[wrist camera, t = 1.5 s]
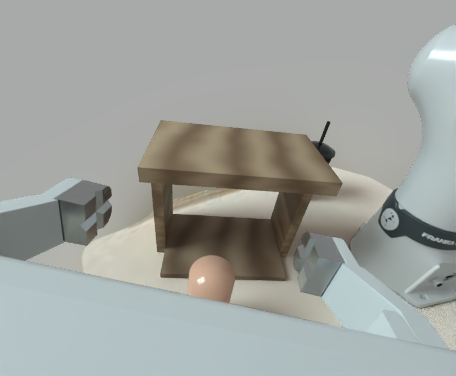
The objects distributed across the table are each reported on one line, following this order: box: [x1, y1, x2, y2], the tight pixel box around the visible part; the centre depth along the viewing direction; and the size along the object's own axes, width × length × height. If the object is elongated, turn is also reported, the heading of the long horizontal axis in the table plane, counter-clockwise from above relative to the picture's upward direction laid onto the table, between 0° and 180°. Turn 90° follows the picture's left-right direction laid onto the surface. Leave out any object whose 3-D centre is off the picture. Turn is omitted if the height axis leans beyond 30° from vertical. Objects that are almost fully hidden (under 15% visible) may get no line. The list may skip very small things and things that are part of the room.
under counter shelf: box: [138, 120, 342, 281], centre depth 39 cm, size 24×14×21 cm, turn 93°
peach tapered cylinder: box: [188, 255, 235, 303], centre depth 30 cm, size 5×5×12 cm
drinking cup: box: [311, 121, 335, 164], centre depth 56 cm, size 8×8×20 cm
